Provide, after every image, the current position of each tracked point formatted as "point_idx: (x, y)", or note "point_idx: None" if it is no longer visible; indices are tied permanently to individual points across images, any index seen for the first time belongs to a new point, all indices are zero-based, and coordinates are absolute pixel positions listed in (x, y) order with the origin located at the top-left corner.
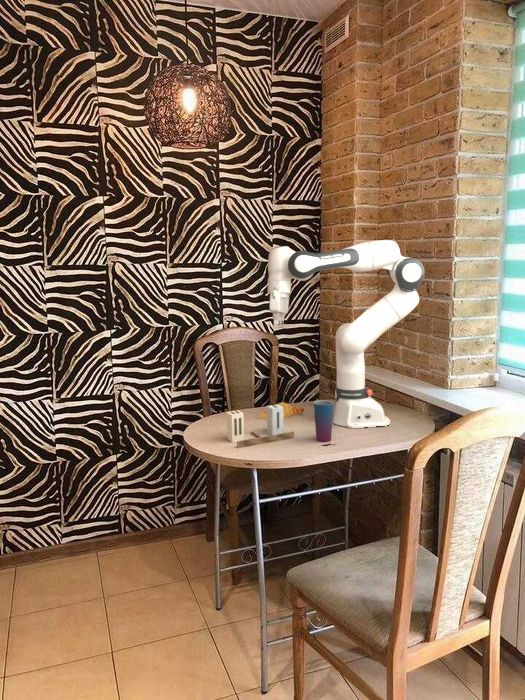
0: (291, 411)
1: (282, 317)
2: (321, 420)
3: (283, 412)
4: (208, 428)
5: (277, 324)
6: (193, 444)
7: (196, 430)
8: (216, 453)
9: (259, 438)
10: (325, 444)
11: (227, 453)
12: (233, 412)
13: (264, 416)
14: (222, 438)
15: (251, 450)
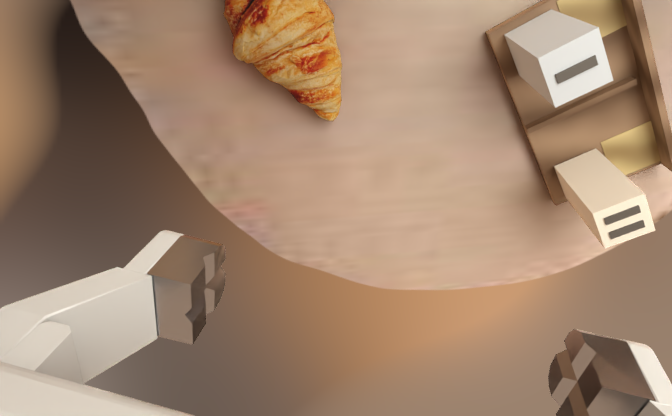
0: None
1: (83, 325)
2: None
3: (324, 18)
4: (404, 251)
5: (636, 349)
6: (549, 271)
7: (421, 277)
8: None
9: (663, 102)
10: None
11: (661, 183)
12: (625, 227)
13: (339, 95)
14: (511, 208)
15: None
